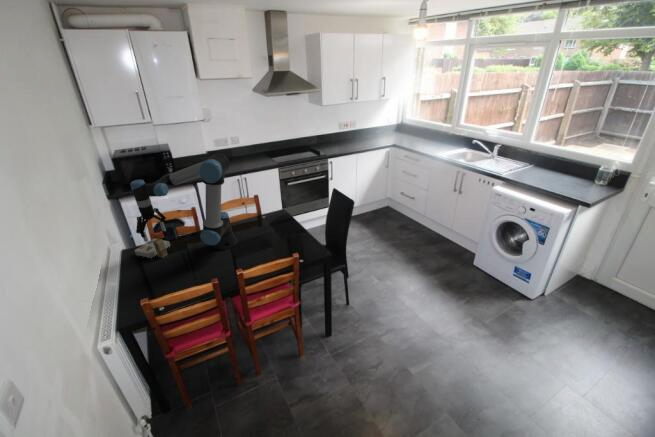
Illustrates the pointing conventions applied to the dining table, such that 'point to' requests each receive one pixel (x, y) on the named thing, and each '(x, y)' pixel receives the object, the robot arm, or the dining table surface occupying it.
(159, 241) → the peg
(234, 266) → the dining table surface
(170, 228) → the box
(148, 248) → the socket block
